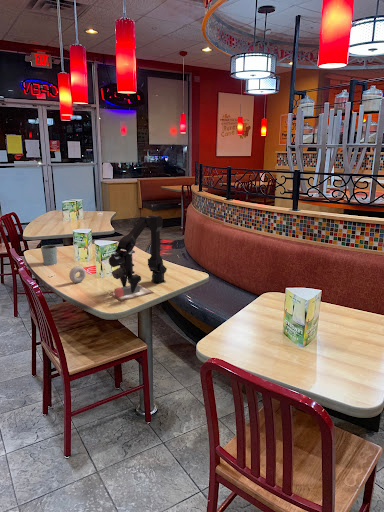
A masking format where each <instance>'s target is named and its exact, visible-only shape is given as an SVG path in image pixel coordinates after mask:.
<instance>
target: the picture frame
mask: <svg viewBox="0 0 384 512" xmlns="http://www.w3.org/2000/svg"><path fill="white" fill-rule="evenodd" d="M141 286H142V289H140V292H137V293H133V294H130V295H126V296H122V297H117V296H115V291H114V292H110V293H109V295H110V296H112V297H114V298H115V299H116V300H117V301H119V302H124V301H129V300H132V299H135V298H139V297H144V296H146V295H151V294H154V293H155V292H154V291H152V290H150V289H148V288H147V287H145V286H143V285H141Z"/></svg>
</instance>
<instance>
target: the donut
mask: <svg viewBox="0 0 384 512" xmlns="http://www.w3.org/2000/svg"><path fill="white" fill-rule="evenodd" d="M77 273H79V275H78V276H76V274H77ZM68 277H69V279H70V281H71V282H73V283H75V284H76V283H78V284H79V283H81V282H82V281H84V279H85V278H86V269H85V268H84V267H83V266H80V265H79V266H77V265H76V266H74V267H72V268H71V269H70V271H69V275H68Z"/></svg>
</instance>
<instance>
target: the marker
mask: <svg viewBox="0 0 384 512" xmlns="http://www.w3.org/2000/svg"><path fill="white" fill-rule="evenodd" d="M142 286H143V285H139V283H138V284H137V286H136V288H135V291H134V292H133V293H137V292H140V289H142ZM114 292H115V296H117V297H122V296H126V295H130V294H133V293H132V292H131V286H130V284H129V285H126V286H125V287H123V286H122V287H116V288H114Z"/></svg>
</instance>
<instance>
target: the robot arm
mask: <svg viewBox="0 0 384 512" xmlns="http://www.w3.org/2000/svg"><path fill="white" fill-rule="evenodd" d="M163 222H164V220H163V217H162V215H161V216H160V215H154V214H150V215H149V216H143V215H142V216H140V218H139V220H138V221H137V222H136V224H135V225H134V227H132V229H131V230H130V231H129V233H128V234H126V235H124V236H122V238H120V239H119V241H118V243H117V246H116V248H115V251H114V253H111V254H110V256H109V258H108V263H109V266H111V267H112V268H116V267H117V268H116V269H114V270H112V271H111V275H112V277H113V279H115V280H120V283H121V285H122V287H125V286H127V284H129V285H130V286H131V292H132V293H133V292H134V291H135V288H136V286H137V284H138V285H139V283H140V282H142V276H141V275H139V274H137V273H136V274H135V271H134V267H135V264H134V263H133V254H135V253H136V251H135V250H133V249H134V248H135V246H136V244H137V243H136V242H137V239H138V238H139V237H140V235H141V234H142V232H143V231H144V230H145V228H146V227H148V228H149V230H150V252H151V255H150V257H149V258H147V266H148V268H149V271H150V272H151V273H152V274H151V280H150V281H151V282H152V283H154V284H156V285H158V284H163V283H165V282H167V281H166V280H165V273H167V267H166V266H165V265H164V260H163V258H162V256H161V242H160V241H161V238H160V237H161V234H160V233H161V230H162V228H163Z"/></svg>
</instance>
